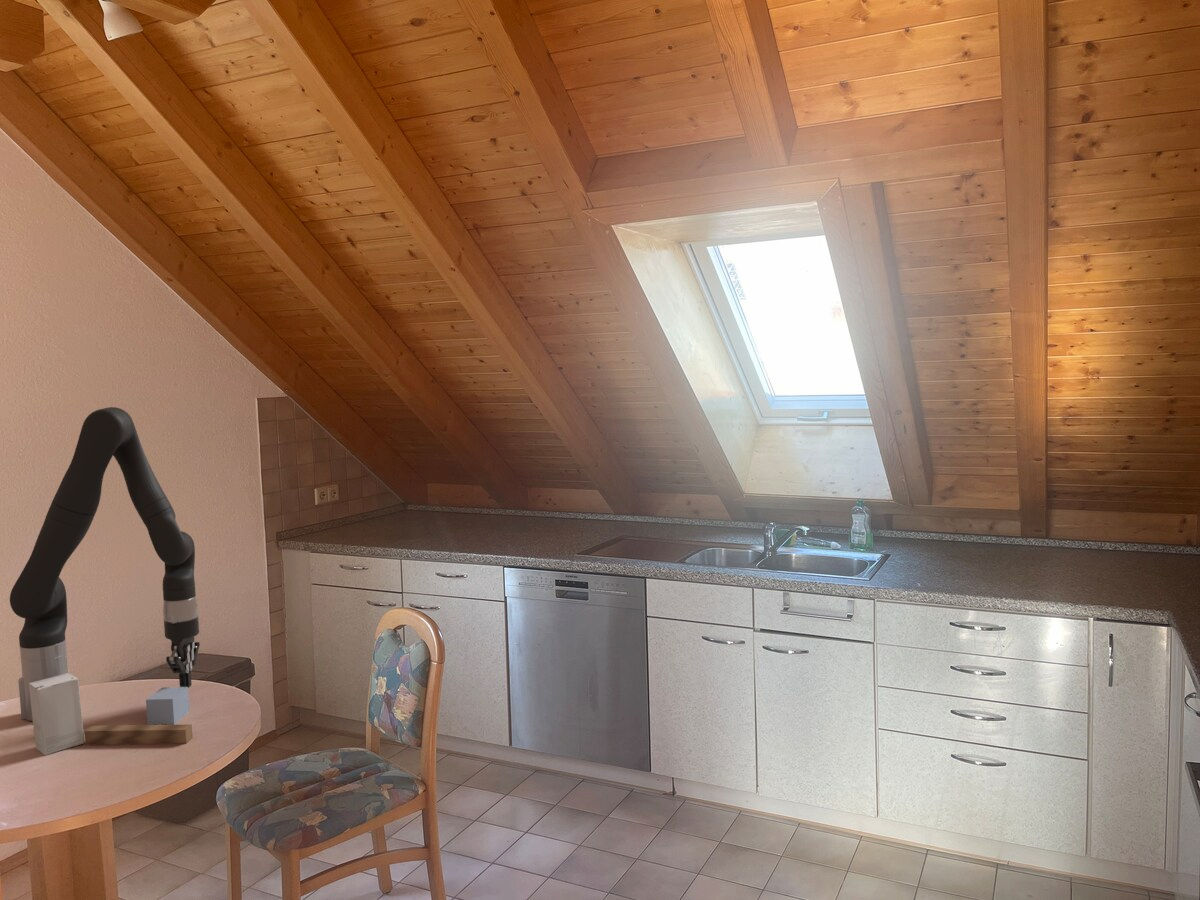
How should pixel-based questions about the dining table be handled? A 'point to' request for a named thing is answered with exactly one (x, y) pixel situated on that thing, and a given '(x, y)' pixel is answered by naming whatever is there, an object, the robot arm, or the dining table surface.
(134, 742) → the board
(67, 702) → the skincare box
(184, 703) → the block
